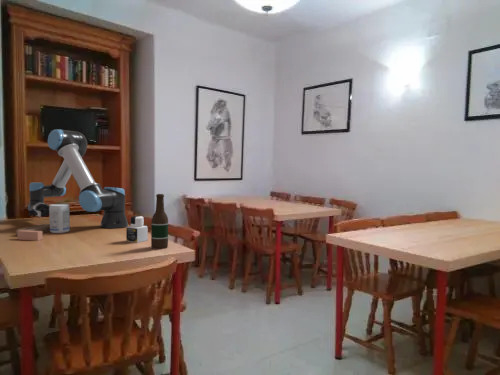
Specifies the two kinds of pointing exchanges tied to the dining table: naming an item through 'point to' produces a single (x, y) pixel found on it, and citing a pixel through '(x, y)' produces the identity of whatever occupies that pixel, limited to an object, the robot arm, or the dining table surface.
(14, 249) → the dining table surface
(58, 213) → the supplement tub
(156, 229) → the beer bottle
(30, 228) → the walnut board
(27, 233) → the block
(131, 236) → the medicine bottle
